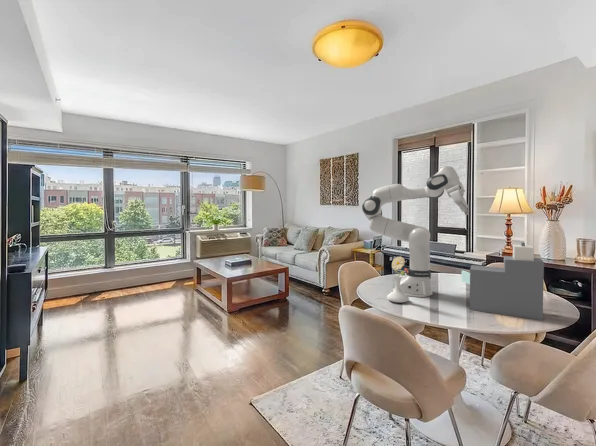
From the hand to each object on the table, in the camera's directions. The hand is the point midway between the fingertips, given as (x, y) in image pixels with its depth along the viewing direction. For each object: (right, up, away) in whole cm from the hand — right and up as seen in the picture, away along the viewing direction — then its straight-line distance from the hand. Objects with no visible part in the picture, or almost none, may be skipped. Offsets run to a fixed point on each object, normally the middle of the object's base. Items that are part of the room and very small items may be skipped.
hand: (465, 213), depth 167 cm
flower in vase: (-40, -48, -7) cm, 63 cm away
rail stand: (+5, -48, -23) cm, 54 cm away
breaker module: (+13, -22, -24) cm, 35 cm away
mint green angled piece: (+23, -46, +29) cm, 59 cm away
